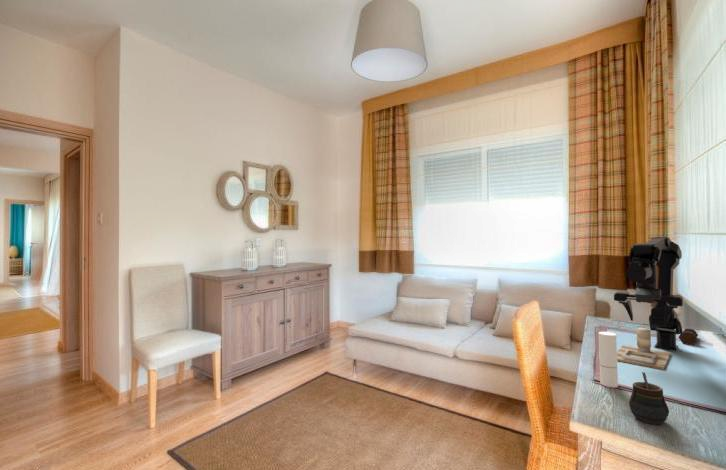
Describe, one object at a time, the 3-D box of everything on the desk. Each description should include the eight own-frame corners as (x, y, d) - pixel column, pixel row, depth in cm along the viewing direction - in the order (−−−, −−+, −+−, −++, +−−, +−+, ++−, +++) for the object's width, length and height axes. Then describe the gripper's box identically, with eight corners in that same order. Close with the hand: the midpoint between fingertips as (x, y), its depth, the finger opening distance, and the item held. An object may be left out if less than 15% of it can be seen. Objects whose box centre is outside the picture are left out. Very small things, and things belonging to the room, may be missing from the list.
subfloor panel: (623, 346, 136) (623, 344, 136) (670, 354, 126) (670, 352, 126) (611, 359, 122) (611, 357, 122) (663, 369, 112) (663, 367, 112)
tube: (618, 388, 99) (616, 336, 99) (600, 385, 102) (598, 334, 102) (617, 383, 103) (615, 332, 103) (599, 380, 105) (598, 330, 105)
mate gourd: (636, 425, 80) (634, 381, 80) (624, 410, 87) (622, 370, 87) (675, 430, 78) (673, 384, 78) (659, 414, 85) (657, 373, 85)
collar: (627, 352, 127) (627, 349, 127) (656, 357, 121) (656, 354, 121) (622, 358, 121) (622, 355, 121) (652, 364, 115) (652, 360, 115)
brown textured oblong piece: (693, 341, 147) (691, 348, 137) (679, 333, 151) (675, 340, 140) (702, 330, 145) (700, 337, 135) (687, 323, 149) (685, 328, 138)
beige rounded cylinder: (638, 348, 131) (637, 327, 131) (651, 351, 128) (651, 329, 128) (636, 351, 128) (635, 329, 129) (650, 353, 126) (649, 331, 126)
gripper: (609, 280, 124) (611, 323, 124) (680, 283, 111) (682, 332, 111) (615, 276, 132) (617, 317, 132) (682, 279, 119) (684, 324, 119)
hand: (648, 322), depth 123 cm, fingers open, 9 cm apart
